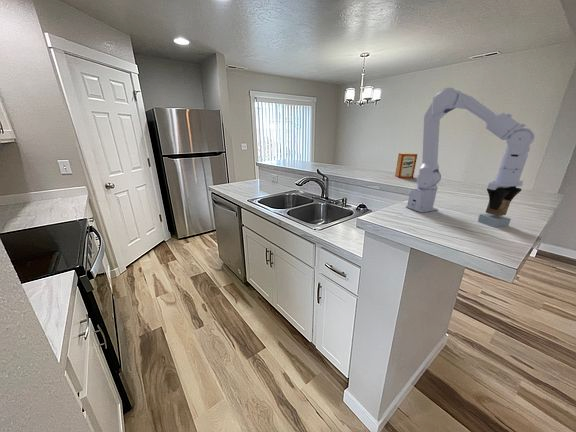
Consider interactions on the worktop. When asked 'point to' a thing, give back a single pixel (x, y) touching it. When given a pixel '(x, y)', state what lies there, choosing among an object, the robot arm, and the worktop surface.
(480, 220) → the slate slab
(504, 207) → the walnut block
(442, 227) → the worktop surface
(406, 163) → the baking soda box
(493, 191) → the robot arm
